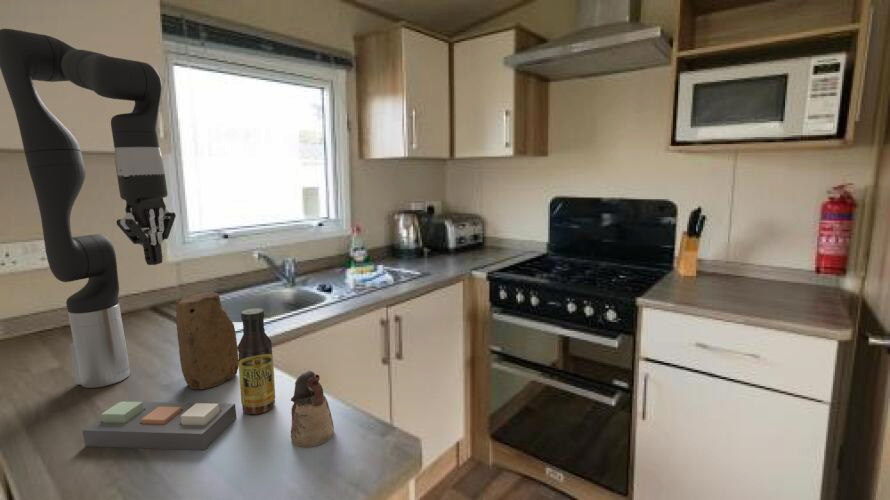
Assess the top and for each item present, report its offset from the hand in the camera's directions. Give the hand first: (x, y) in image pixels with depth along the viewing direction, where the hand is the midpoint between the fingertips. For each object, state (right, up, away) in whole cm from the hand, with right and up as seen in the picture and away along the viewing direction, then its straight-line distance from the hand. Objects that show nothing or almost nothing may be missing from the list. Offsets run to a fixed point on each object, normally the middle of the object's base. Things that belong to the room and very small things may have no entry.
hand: (154, 264), depth 90 cm
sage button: (-3, -28, -5) cm, 28 cm away
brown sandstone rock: (+4, -27, +15) cm, 31 cm away
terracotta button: (+5, -29, -5) cm, 29 cm away
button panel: (+5, -30, -5) cm, 31 cm away
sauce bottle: (+19, -29, +2) cm, 35 cm away
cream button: (+12, -28, -6) cm, 31 cm away
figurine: (+33, -30, -8) cm, 45 cm away
